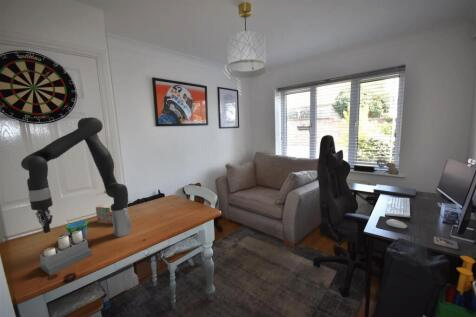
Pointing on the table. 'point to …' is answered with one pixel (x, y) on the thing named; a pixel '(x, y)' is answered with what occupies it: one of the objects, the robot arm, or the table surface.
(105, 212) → the cereal box
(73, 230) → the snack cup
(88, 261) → the table surface
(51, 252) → the knob
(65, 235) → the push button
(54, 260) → the grey compartment box
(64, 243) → the knob mid
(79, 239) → the knob
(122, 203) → the robot arm
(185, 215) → the table surface
